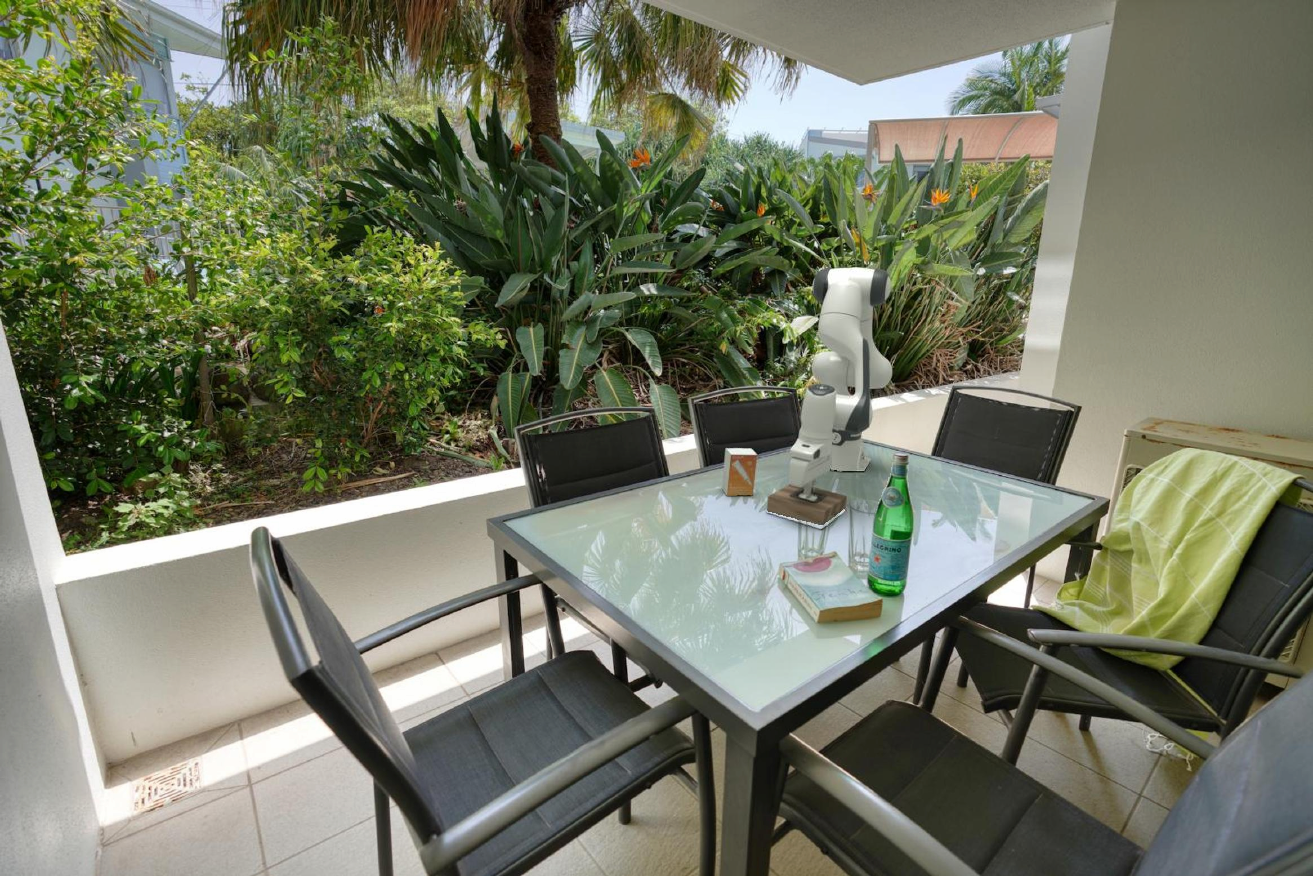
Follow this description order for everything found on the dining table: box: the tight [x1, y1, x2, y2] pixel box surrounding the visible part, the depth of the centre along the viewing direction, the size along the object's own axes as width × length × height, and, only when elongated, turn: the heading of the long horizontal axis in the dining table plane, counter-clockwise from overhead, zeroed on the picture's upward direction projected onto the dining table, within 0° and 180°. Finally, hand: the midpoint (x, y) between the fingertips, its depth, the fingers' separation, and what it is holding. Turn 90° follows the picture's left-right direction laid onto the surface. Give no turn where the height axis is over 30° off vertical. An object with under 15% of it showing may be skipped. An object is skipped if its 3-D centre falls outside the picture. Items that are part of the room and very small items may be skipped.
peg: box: [799, 493, 817, 501], centre depth 170 cm, size 5×5×5 cm
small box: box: [721, 447, 758, 497], centre depth 181 cm, size 8×6×13 cm
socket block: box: [766, 483, 848, 525], centre depth 170 cm, size 16×16×5 cm
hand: (808, 493), depth 169 cm, fingers closed
